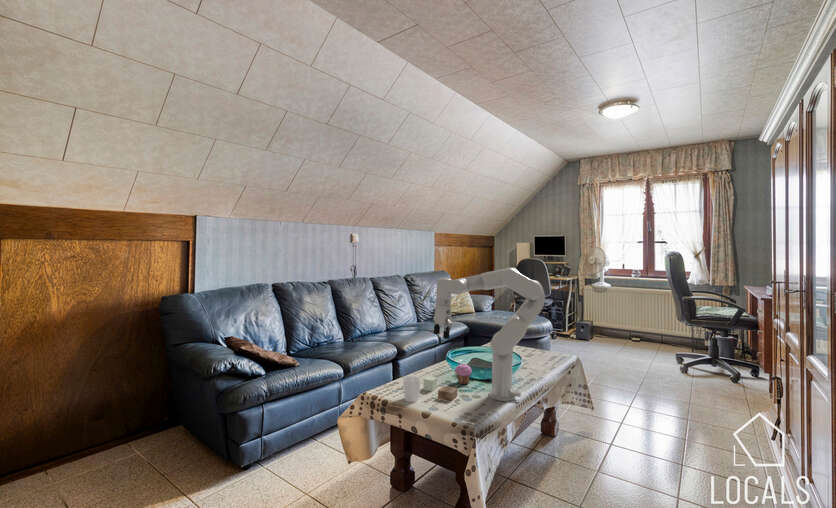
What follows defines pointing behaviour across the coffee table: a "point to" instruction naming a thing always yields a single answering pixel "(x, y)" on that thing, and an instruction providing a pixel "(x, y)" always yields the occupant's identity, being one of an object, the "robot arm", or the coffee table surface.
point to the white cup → (411, 388)
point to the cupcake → (463, 373)
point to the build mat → (449, 401)
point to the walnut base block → (447, 393)
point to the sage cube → (430, 383)
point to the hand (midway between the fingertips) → (441, 336)
